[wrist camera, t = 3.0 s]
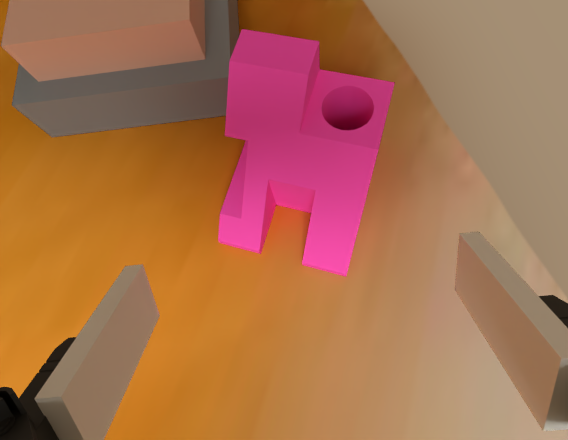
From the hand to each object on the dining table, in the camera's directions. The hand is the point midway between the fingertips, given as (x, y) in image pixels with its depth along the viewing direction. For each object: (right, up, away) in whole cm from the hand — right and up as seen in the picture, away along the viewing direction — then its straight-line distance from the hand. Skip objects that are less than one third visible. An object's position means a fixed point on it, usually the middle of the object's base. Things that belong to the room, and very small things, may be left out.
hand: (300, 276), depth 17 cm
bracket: (+1, +5, +16) cm, 17 cm away
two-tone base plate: (-14, +20, +23) cm, 34 cm away
